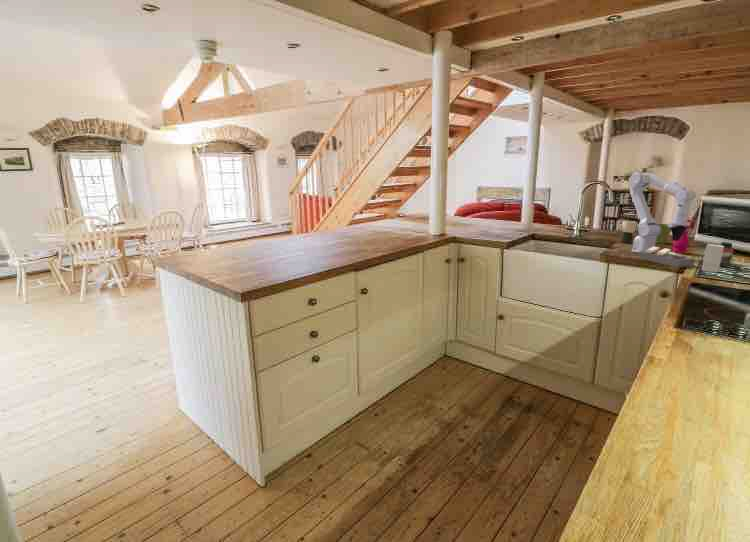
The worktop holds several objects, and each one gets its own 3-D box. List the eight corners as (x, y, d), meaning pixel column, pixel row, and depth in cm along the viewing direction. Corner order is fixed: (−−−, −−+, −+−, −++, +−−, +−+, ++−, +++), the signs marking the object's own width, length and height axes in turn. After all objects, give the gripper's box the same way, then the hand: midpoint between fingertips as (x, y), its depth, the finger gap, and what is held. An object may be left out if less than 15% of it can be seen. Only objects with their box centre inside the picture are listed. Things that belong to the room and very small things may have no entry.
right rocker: (668, 253, 198) (669, 251, 198) (675, 255, 201) (676, 253, 200) (674, 254, 195) (675, 252, 195) (681, 257, 198) (682, 255, 198)
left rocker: (645, 251, 208) (645, 249, 208) (653, 248, 210) (653, 246, 210) (651, 253, 206) (651, 251, 205) (659, 249, 208) (659, 247, 207)
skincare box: (718, 271, 189) (725, 245, 186) (717, 273, 186) (724, 247, 182) (701, 268, 193) (708, 243, 190) (700, 270, 190) (706, 244, 186)
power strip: (636, 258, 211) (638, 250, 210) (651, 256, 216) (653, 248, 215) (678, 267, 194) (680, 259, 193) (693, 265, 199) (695, 257, 198)
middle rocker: (656, 254, 203) (656, 252, 203) (664, 250, 205) (664, 248, 205) (662, 255, 201) (662, 253, 200) (670, 251, 203) (670, 249, 202)
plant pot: (675, 244, 251) (679, 225, 248) (661, 245, 247) (665, 226, 244) (656, 240, 262) (659, 222, 259) (643, 241, 258) (646, 223, 254)
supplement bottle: (713, 263, 204) (719, 241, 201) (729, 265, 201) (735, 242, 198) (713, 265, 200) (719, 242, 197) (729, 267, 196) (735, 244, 193)
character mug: (633, 242, 254) (637, 221, 251) (638, 244, 248) (642, 222, 244) (614, 240, 256) (617, 220, 253) (618, 243, 249) (622, 221, 246)
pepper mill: (687, 254, 223) (695, 217, 218) (671, 252, 227) (679, 216, 222) (687, 252, 228) (695, 216, 223) (671, 250, 233) (679, 215, 227)
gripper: (681, 215, 198) (674, 243, 202) (699, 214, 204) (692, 241, 207) (666, 213, 204) (660, 240, 208) (683, 212, 210) (678, 238, 214)
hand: (675, 240), depth 208 cm, fingers closed
